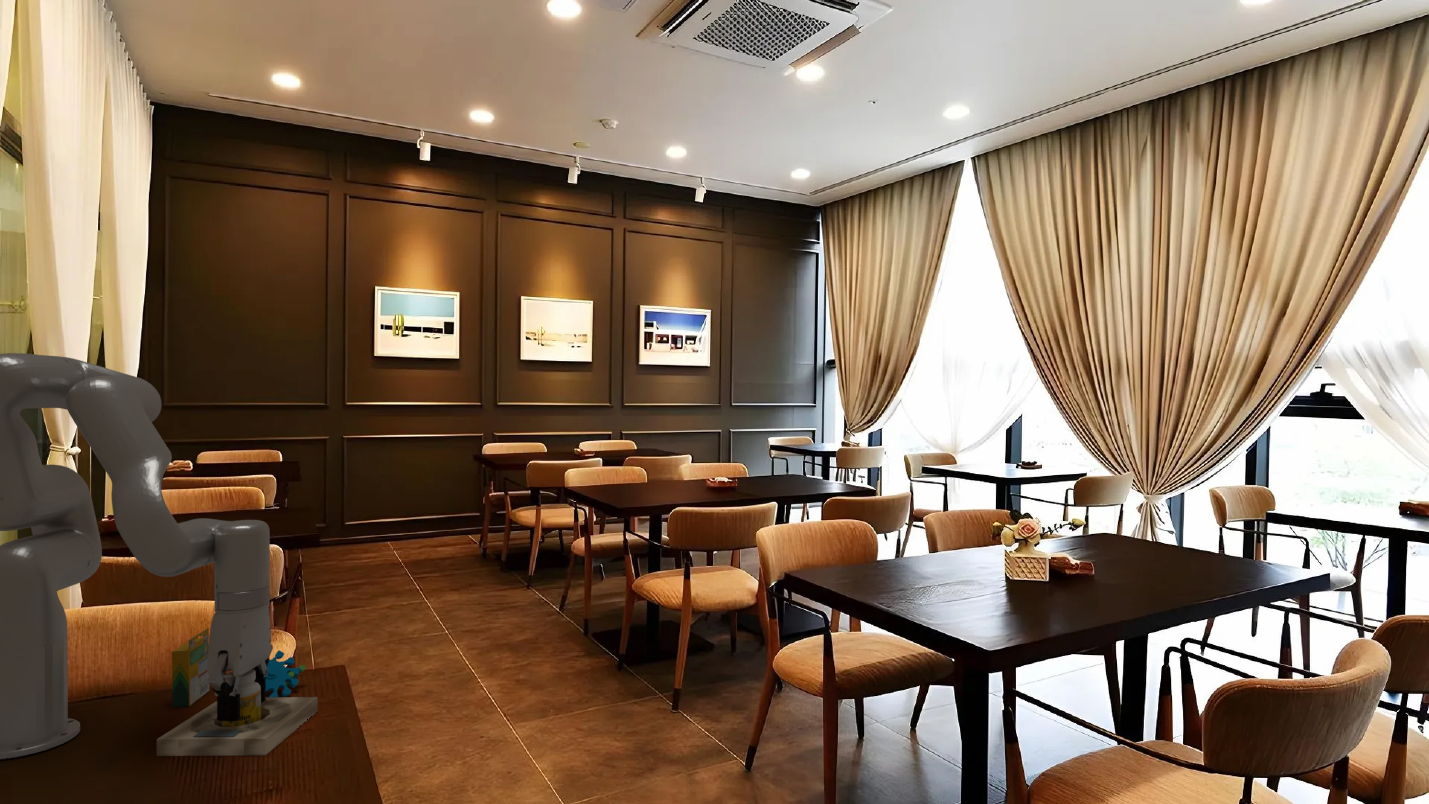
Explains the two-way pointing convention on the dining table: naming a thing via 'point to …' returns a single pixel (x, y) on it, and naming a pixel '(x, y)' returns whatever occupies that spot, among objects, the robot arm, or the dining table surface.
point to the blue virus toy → (281, 675)
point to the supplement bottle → (247, 700)
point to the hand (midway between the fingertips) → (242, 709)
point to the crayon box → (190, 671)
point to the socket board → (238, 730)
